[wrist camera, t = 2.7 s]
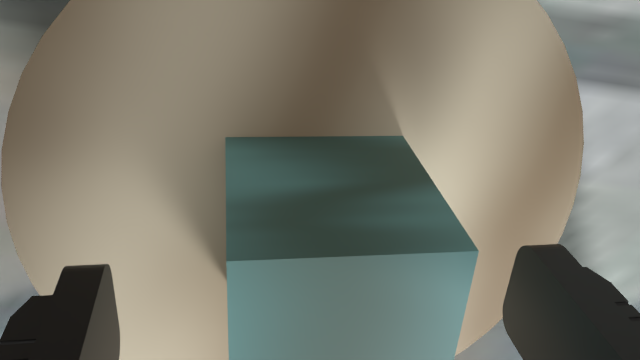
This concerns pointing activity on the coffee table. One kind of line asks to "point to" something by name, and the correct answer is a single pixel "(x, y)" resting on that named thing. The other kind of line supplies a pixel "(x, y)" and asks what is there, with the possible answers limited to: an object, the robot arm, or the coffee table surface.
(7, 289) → the coffee table surface
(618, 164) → the coffee table surface
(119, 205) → the lid
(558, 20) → the coffee table surface
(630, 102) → the coffee table surface
